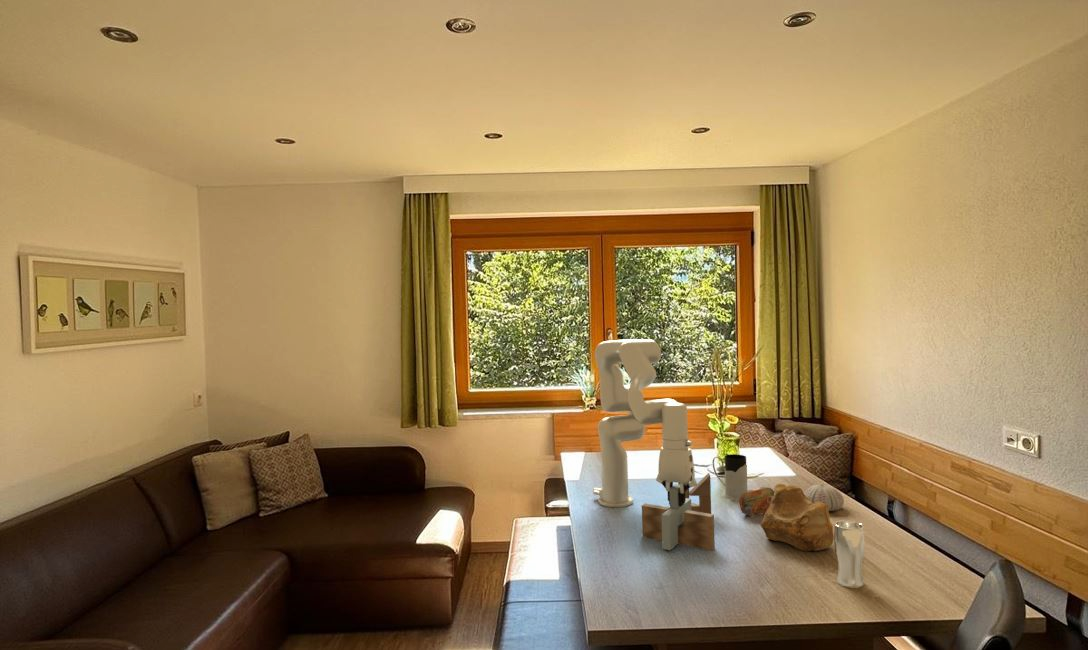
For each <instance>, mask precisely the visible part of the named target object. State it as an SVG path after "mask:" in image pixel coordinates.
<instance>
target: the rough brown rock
mask: <svg viewBox="0 0 1088 650" xmlns="http://www.w3.org/2000/svg"><path fill="white" fill-rule="evenodd" d="M773 489H774V490H773V491H774V496H773V499H772V501H771V503H770V506H769V508H768V509H767V511H766V513H764V516H763V518H762V521H761V522H760V527H761V528H762V530H763V532H764V534H765V537H766V538H767V539H769V540H771V541H775V542H779V541H780V542H783V543H786V544H789V545H791V546H793V547H794V548H796V549H798V550H800V551H803V552H807V553H809V551H814V552H817V551H822V550H825V549H826V550H827V549H828V548H829V547H831V546H832V545H833V543H834V529H833V525H832V522H831V518H830V517H831V516H830V511H828V507H827V506H826V505H825V504H824V503H822V502H816V503H815V504H813V502H812V501H811V500H810V499H809V498H808V497H806V496H805V495H804V493H805V492H804V491H803V489H802V488H801V487H800V486H797V485H794V484H789V485H786V484H783V483H777V484H776V485H774V488H773Z"/></svg>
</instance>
